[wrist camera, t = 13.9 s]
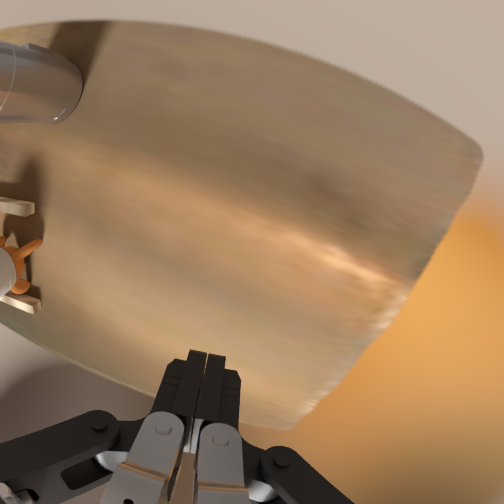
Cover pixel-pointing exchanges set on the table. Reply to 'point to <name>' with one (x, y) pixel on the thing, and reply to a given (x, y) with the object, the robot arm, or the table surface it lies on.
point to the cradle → (10, 297)
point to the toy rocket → (14, 266)
